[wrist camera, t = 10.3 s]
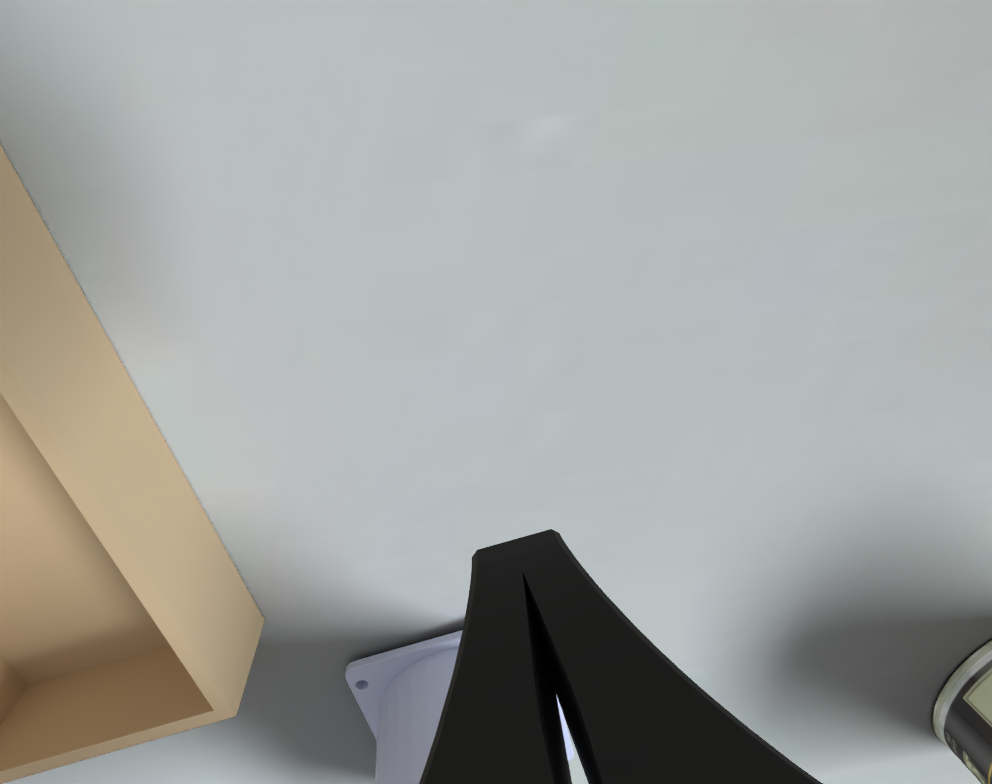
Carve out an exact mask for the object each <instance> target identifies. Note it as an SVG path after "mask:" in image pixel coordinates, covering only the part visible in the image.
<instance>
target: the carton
mask: <svg viewBox="0 0 992 784" xmlns="http://www.w3.org/2000/svg"><path fill="white" fill-rule="evenodd" d="M264 622H265V619H264V617H263V616H262V614H261V612H260V610H259V608H258V607H257V605H256V603H255V601H254V599H253V598H252V596H251V594H250V592H249V590H248V589H247V587H246V585H245V583H244V581H243V580H242V578H241V576H240V574H239V572H238V571H237V569H236V567H235V565H234V563H233V562H232V560H231V558H230V556H229V554H228V553H227V551H226V549H225V547H224V545H223V544H222V542H221V540H220V538H219V536H218V535H217V533H216V531H215V529H214V527H213V526H212V524H211V522H210V520H209V518H208V517H207V515H206V513H205V511H204V509H203V508H202V506H201V504H200V502H199V500H198V499H197V497H196V495H195V493H194V491H193V490H192V488H191V486H190V484H189V482H188V481H187V479H186V477H185V475H184V473H183V472H182V470H181V468H180V466H179V465H178V463H177V461H176V459H175V457H174V456H173V454H172V452H171V450H170V448H169V447H168V445H167V443H166V441H165V439H164V438H163V436H162V434H161V432H160V430H159V429H158V427H157V425H156V423H155V421H154V420H153V418H152V416H151V414H150V412H149V411H148V409H147V407H146V405H145V403H144V402H143V400H142V398H141V396H140V394H139V393H138V391H137V389H136V387H135V385H134V384H133V382H132V380H131V378H130V376H129V375H128V373H127V371H126V369H125V367H124V366H123V364H122V362H121V360H120V358H119V357H118V355H117V353H116V351H115V349H114V348H113V346H112V344H111V342H110V340H109V339H108V337H107V335H106V333H105V331H104V330H103V328H102V326H101V324H100V322H99V321H98V319H97V317H96V315H95V313H94V312H93V310H92V308H91V306H90V304H89V303H88V301H87V299H86V297H85V295H84V294H83V292H82V290H81V288H80V286H79V285H78V283H77V281H76V279H75V277H74V276H73V274H72V272H71V270H70V268H69V267H68V265H67V263H66V261H65V259H64V258H63V256H62V254H61V252H60V250H59V249H58V247H57V245H56V243H55V241H54V240H53V238H52V236H51V234H50V233H49V231H48V229H47V227H46V225H45V224H44V222H43V220H42V218H41V216H40V215H39V213H38V211H37V209H36V207H35V206H34V204H33V202H32V200H31V198H30V197H29V195H28V193H27V191H26V189H25V188H24V186H23V184H22V182H21V180H20V179H19V177H18V175H17V173H16V171H15V170H14V168H13V166H12V164H11V162H10V161H9V159H8V157H7V155H6V153H5V152H4V150H3V148H2V146H1V144H0V784H2V783H5V782H9V781H12V780H15V779H19V778H22V777H26V776H29V775H33V774H36V773H40V772H43V771H47V770H50V769H54V768H57V767H61V766H64V765H68V764H71V763H75V762H78V761H82V760H85V759H89V758H92V757H96V756H99V755H103V754H106V753H110V752H113V751H117V750H120V749H124V748H127V747H131V746H134V745H138V744H141V743H145V742H148V741H151V740H155V739H158V738H162V737H165V736H169V735H172V734H176V733H179V732H183V731H186V730H190V729H193V728H197V727H200V726H204V725H207V724H211V723H214V722H218V721H221V720H225V719H228V718H232V717H235V716H236V715H237V712H238V709H239V705H240V702H241V699H242V695H243V692H244V689H245V685H246V682H247V679H248V675H249V672H250V669H251V665H252V662H253V659H254V655H255V652H256V649H257V645H258V642H259V639H260V635H261V632H262V629H263V625H264Z"/></svg>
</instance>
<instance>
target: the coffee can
mask: <svg viewBox="0 0 992 784" xmlns="http://www.w3.org/2000/svg"><path fill="white" fill-rule="evenodd" d="M933 727H934V731H935V733H936V735H937V736H938V738H939V739H940V740H941V741H942V742H943V743H944V744H945V745H946V746H947V747H949V748H950V749H951V750H952V751H953V752H954V754H955V755H956V756H957V757H958V758H959V759H960V760H961V761H962V762H963V764H964V765H965V766H966V767H967V768H968V769H969V770H970V771H971V772H972V773H973V774H974V776H975V777H976V778H977V779H978V780H979V781H980V782H981V783H982V784H992V640H991V641H990V642H988V643H986V644H985V645H984V646H983V647H981V648H980V649H978V650H977V651H976V652H975V653H974V654H973V655H971V656H970V657H969V658H968V659H967V660H966V661H965V662H964V663H963V664H962V665H961V666H960V667H959V668H958V669H957V670H956V671H955V672H954V674H953V675H952V676H951V677H950V678H949V679H948V681H947V682H946V684H945V686H944V688H943V689H942V691H941V692H940V694H939V696H938V699H937V701H936V703H935V707H934V711H933Z"/></svg>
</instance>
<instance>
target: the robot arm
mask: <svg viewBox="0 0 992 784" xmlns="http://www.w3.org/2000/svg"><path fill="white" fill-rule="evenodd" d="M345 679H346V681H347V683H348V685H349V687H350V689H351V691H352V693H353V695H354V697H355V699H356V701H357V703H358V705H359V707H360V709H361V711H362V713H363V715H364V717H365V719H366V721H367V723H368V725H369V727H370V729H371V731H372V733H373V735H374V737H375V739H376V741H377V751H376V770H375V784H572V781H571V776H570V770H569V764H568V762H569V761H570V760H571V759H572V758H573V756H574V752H573V748H572V744H571V741H570V737H569V733H568V730H567V726H566V722H567V725H568V728H569V731H570V733H571V736H572V739H573V742H574V744H575V747H576V750H577V753H578V755H579V758H580V761H581V764H582V766H583V769H584V772H585V775H586V777H587V780H588V783H589V784H822V783H821V782H819V781H818V780H816V779H815V778H814V777H812V776H811V775H809V774H808V773H807V772H805V771H804V770H802V769H801V768H800V767H798V766H797V765H796V764H794V763H793V762H792V761H790V760H789V759H788V758H786V757H785V756H784V755H783V754H781V753H780V752H779V751H777V750H776V749H775V748H774V747H772V746H771V745H770V744H768V743H767V742H766V741H765V740H763V739H762V738H761V737H759V736H758V735H757V734H756V733H754V732H753V731H752V730H750V729H749V728H748V727H747V726H745V725H744V724H743V723H742V722H741V721H739V720H738V719H737V718H736V717H735V716H733V715H732V714H731V713H730V712H729V711H727V710H726V709H725V708H724V707H722V706H721V705H720V704H719V703H718V702H716V701H715V700H714V699H713V698H712V697H711V696H709V695H708V694H707V693H706V692H705V691H704V690H702V689H701V688H700V687H699V686H698V685H697V684H696V683H695V682H693V681H692V680H691V679H690V678H689V677H688V676H687V675H686V674H685V673H683V672H682V671H681V670H680V669H679V668H678V667H677V666H676V665H675V664H674V663H673V662H672V661H671V660H669V659H668V658H667V657H666V656H665V655H664V654H663V653H662V652H661V651H660V650H659V649H658V648H657V647H656V646H655V645H654V644H653V643H652V642H651V641H650V640H649V639H648V638H647V637H646V636H645V635H644V634H643V633H642V632H640V631H639V630H638V629H637V628H636V626H635V625H634V624H633V623H632V622H631V621H630V620H629V619H628V618H627V617H626V616H625V615H624V614H623V613H622V612H621V611H620V609H619V608H618V607H617V606H616V605H615V604H614V603H613V602H612V601H611V600H610V599H609V598H608V597H607V596H606V594H605V593H604V592H603V591H602V590H601V589H600V588H599V586H598V585H597V584H596V583H595V582H594V580H593V579H592V578H591V577H590V576H589V574H588V573H587V572H586V571H585V570H584V568H583V567H582V566H581V564H580V563H579V562H578V561H577V559H576V558H575V557H574V555H573V554H572V552H571V551H570V550H569V548H568V547H567V545H566V544H565V542H564V541H563V539H562V537H561V536H560V534H559V533H558V532H556V531H554V530H552V529H550V530H547V531H543V532H540V533H536V534H533V535H529V536H525V537H522V538H518V539H515V540H511V541H508V542H504V543H500V544H497V545H493V546H490V547H486V548H483V549H479V550H477V551H476V553H475V554H474V555H473V557H472V573H471V583H470V591H469V598H468V604H467V610H466V615H465V621H464V626H463V630H461V631H457V632H454V633H450V634H447V635H443V636H440V637H436V638H433V639H429V640H426V641H422V642H419V643H415V644H412V645H408V646H405V647H401V648H398V649H394V650H391V651H387V652H384V653H380V654H377V655H373V656H370V657H366V658H363V659H359V660H356V661H353V662H351V663H349V664H348V665H347V667H346V671H345ZM360 680H364V681H360ZM563 714H564V715H563ZM564 717H565V719H564ZM565 720H566V722H565Z"/></svg>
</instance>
